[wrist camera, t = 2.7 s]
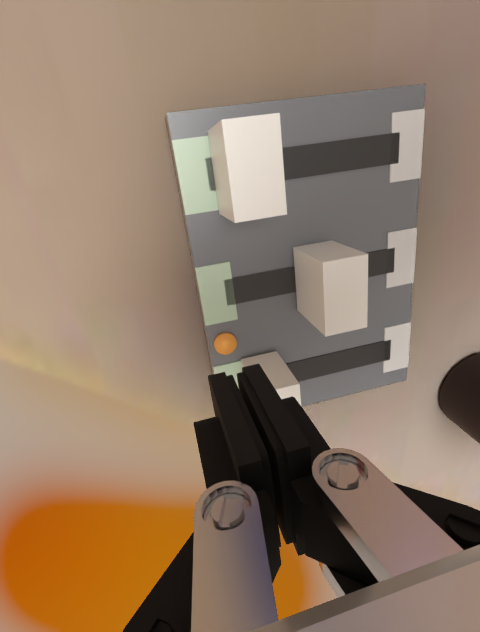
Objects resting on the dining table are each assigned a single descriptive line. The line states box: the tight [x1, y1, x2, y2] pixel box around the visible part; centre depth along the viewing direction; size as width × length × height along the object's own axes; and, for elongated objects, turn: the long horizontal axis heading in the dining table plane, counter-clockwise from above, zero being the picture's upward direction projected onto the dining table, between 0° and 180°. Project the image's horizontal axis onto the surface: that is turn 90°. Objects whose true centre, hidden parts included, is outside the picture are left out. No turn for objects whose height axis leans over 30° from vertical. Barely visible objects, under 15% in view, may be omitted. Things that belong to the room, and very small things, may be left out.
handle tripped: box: [293, 240, 368, 337], centre depth 20 cm, size 2×4×4 cm, turn 8°
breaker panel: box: [165, 84, 425, 407], centre depth 23 cm, size 14×19×2 cm
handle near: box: [207, 113, 287, 223], centre depth 17 cm, size 2×4×4 cm, turn 8°
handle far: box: [241, 351, 301, 405], centre depth 22 cm, size 2×4×4 cm, turn 8°
